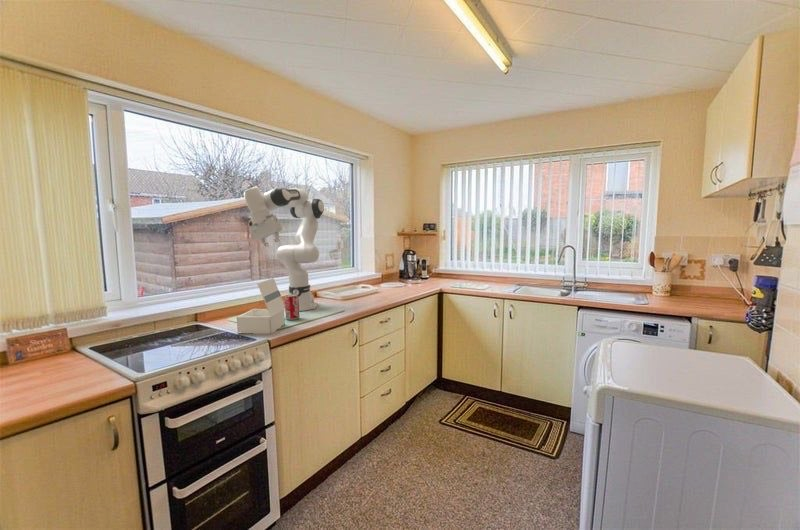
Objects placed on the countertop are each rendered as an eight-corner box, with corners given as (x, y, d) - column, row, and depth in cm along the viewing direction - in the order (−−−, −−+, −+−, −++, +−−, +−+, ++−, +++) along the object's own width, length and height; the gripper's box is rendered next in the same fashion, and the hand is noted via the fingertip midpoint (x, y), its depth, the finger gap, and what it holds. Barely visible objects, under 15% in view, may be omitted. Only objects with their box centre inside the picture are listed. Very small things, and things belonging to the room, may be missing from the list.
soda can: (295, 320, 183) (294, 296, 181) (283, 320, 184) (281, 296, 183) (301, 317, 190) (300, 294, 188) (289, 316, 191) (288, 293, 190)
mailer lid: (272, 278, 174) (273, 278, 174) (284, 308, 175) (285, 307, 175) (257, 283, 158) (258, 283, 158) (270, 316, 159) (272, 315, 159)
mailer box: (254, 324, 177) (253, 308, 176) (284, 324, 176) (283, 309, 175) (237, 333, 161) (236, 316, 160) (271, 334, 160) (270, 317, 159)
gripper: (279, 211, 172) (289, 237, 174) (256, 222, 184) (265, 247, 185) (268, 213, 167) (279, 240, 169) (245, 225, 179) (256, 250, 180)
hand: (272, 244), depth 177 cm, fingers open, 8 cm apart
